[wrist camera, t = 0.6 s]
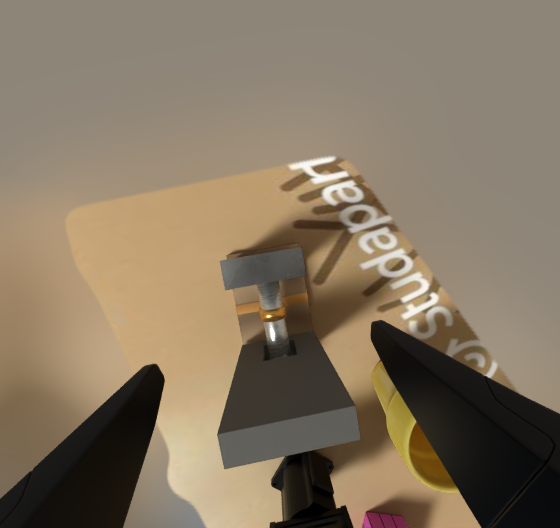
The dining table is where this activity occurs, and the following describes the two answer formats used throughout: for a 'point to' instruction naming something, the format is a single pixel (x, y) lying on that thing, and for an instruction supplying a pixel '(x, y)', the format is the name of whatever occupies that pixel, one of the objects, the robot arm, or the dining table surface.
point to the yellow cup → (410, 436)
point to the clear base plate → (291, 297)
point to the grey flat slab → (285, 404)
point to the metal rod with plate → (267, 289)
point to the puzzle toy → (383, 521)
